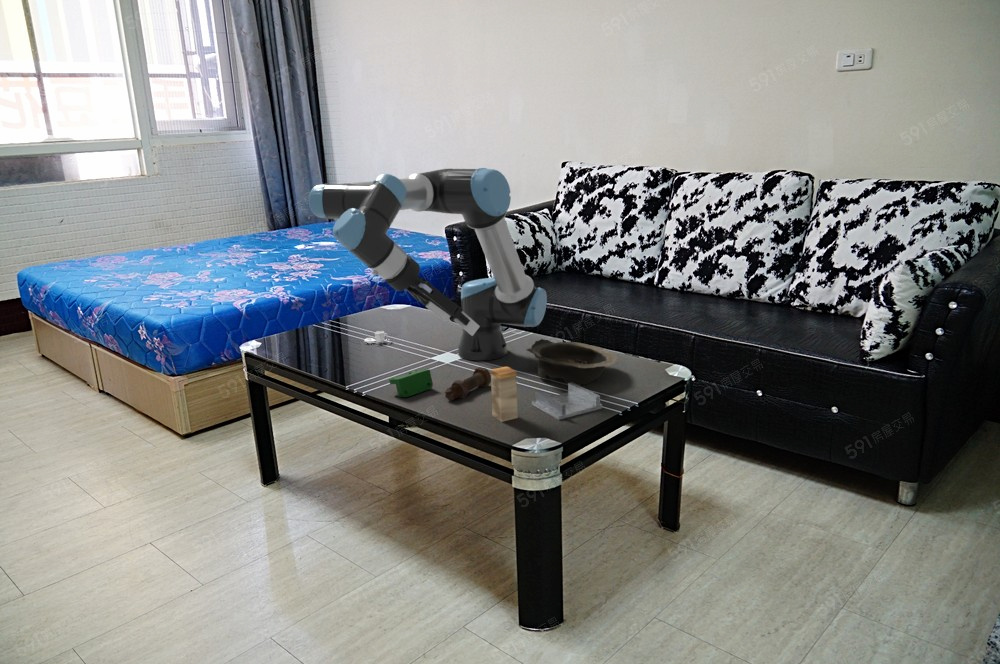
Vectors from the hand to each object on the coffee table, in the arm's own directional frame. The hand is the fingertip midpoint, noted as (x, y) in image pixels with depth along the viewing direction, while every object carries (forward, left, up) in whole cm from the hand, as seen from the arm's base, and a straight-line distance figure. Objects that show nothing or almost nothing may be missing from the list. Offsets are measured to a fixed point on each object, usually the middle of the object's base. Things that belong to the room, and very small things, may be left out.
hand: (461, 324), depth 171 cm
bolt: (-20, +11, -26) cm, 34 cm away
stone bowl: (-15, +42, -26) cm, 51 cm away
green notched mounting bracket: (-30, -1, -26) cm, 39 cm away
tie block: (0, +11, -25) cm, 27 cm away
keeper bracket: (+3, +26, -25) cm, 37 cm away
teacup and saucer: (-81, +9, -26) cm, 86 cm away
